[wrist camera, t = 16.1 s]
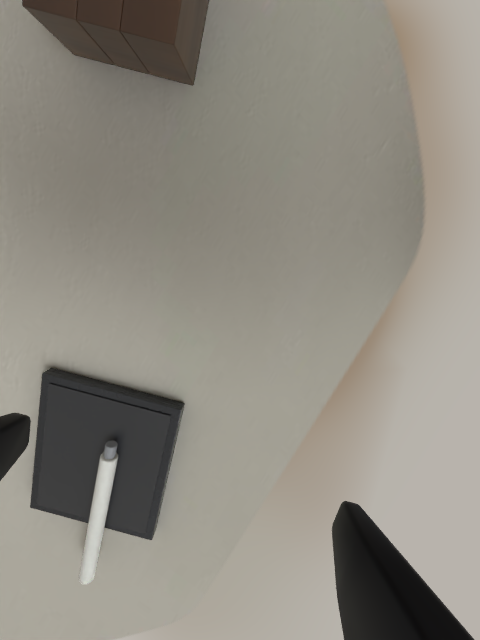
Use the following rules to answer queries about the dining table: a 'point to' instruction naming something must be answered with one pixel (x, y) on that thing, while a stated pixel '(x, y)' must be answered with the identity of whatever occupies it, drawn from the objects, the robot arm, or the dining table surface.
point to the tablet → (89, 443)
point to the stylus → (98, 512)
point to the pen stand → (129, 32)
